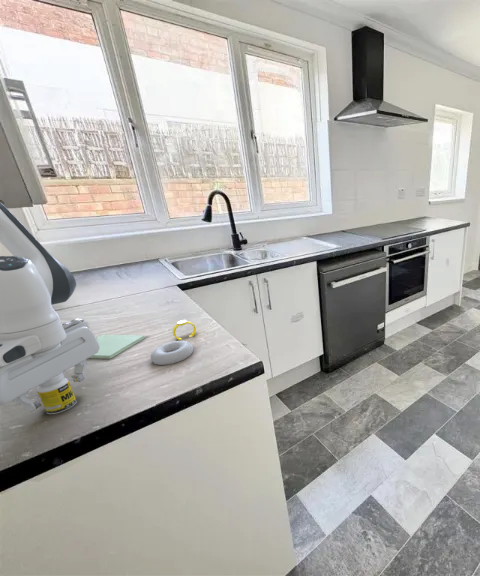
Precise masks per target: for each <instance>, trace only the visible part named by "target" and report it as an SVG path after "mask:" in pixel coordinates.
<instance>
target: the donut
mask: <svg viewBox="0 0 480 576" xmlns="http://www.w3.org/2000/svg"><path fill="white" fill-rule="evenodd" d="M193 351H194V346H193V344H192V343H191V342H190V341H187V340H173V341H169V342H166V343H163V344H161V345H159V346H157V347H156V348H155V349H153V350H152V352H151V354H150V360H151V362H152V363H153V364H154V365H158V366H167V365H174V364H176V363H180V362H182V361H184V360H185V359H187V358H189V357H190V356H191V355H192V353H193Z"/></svg>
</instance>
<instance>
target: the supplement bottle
mask: <svg viewBox="0 0 480 576" xmlns="http://www.w3.org/2000/svg"><path fill="white" fill-rule="evenodd" d="M70 383H71V382H70V380H69V379H68V377H67V378H66V377H65V374H64V372H62V373H60V374H59V375H57V376H55V377H53V378H52V379H50V380H48V381H46V382H44V383H43V384H41V385H39V386H37V387H36V393H37V394H38V396H39V398H40V399H39V400H40V402H41V404H42V405H43V408H44V410H45V412H46V414H48V415H55V414H59V413H62V412H65V411H67V410H69V409H71V408H73V407H74V406H75V405H76V404H77V402H78V401H77V398H76V396H75V393H74V391H73V388H72V385H71V384H70Z"/></svg>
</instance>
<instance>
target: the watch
mask: <svg viewBox="0 0 480 576" xmlns="http://www.w3.org/2000/svg"><path fill="white" fill-rule="evenodd" d="M187 324H189V325H191V326H192V327H193V329H192V330H193V331H192V333H191V334H190V335H189V338H191V337H194V336H195V335H196V332H197V327H196V326H195V324H194V323H192V321H187V319H181V320H178V321H177V322H176V324H175V325H174V327H173V329H172V335H173V336H174V338H176V339H177V341H183V339H182V338H181V337H178V336H177V335H176V331H177V329H178V327H181V326H185V325H187Z"/></svg>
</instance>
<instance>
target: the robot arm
mask: <svg viewBox="0 0 480 576" xmlns="http://www.w3.org/2000/svg"><path fill="white" fill-rule="evenodd" d="M0 243H1V245H3V246H4V248H6V250H7V251H8V252H9V253H10V254H11V255H0V407H1V406H2V407H3V406H5V405H7V404H9V403H11V402H15V403H17V404H20V405H22V406H23V408H24V410H25V411H27V412H34V411H35V410H37V409H39V408H40V407H42V403H41V400H40V399H38V398H35V399H34V398H30V399H29V397H30V394H29V392H31V391H32V390H34V389H36V388H38V387H39V385H41V384H43V383H44V382H46V381H48V380H50V379H52V378H53V377H55V376H57V375H59V374H60V373H62V372H63V373H64V372H66V371H68V370H69V369H72V368H74V373H72V374H71V375H70V376H71V378H72V381H73V383H80V382H82V381H84V380H85V379H87V375H86V369H87V366H88V362H87V359H90V358H89V357H91V356H93V355H94V354H96V353H98V351H99V348H100V346H99V343H98V341H97V339H96V338H97V337H96V335H95V334H94V333H93V331H92V330H91V328H90V324H89V323H88V321H87V320H85V319H84V318H83V319H82V318H74V319H72V320H71V321H68V322H64V323H62V321H61V318H60V316H59V313H57V311H56V310H55V309H54V307H53V305H58V304H62V303H63V304H64V303H66V302H67V301H68V300H69V299H70V298H71V297H72V295H73V294H74V292H75V290H76V287H77V280H76V277H75V276H74V275H73V273H72V272H71V270H70V269H68V268H67V267H66V266H65V265H64V264H63V263H61V262H60V261H59V260H58V259H57V258H55V257H54V256H53V255H52V254H51V253H50V252H49V251H48V250H47V249H46V248H45V247H44V246H43V245H42V243H40V242H39V240H38V239H37V238H36V237H35V236H34V235H33V234H32V232H30V231H29V230H28V229H27V228H26V226H25V225H24V224H23V223H22V222H21V221H20V220H19V219H18V218H17V217H16V216H15V215H14V214H13V213H12V212H11V211H10V210H9V209H8V208H7V207H6V205H4V204H3V203H2V202H1V201H0Z"/></svg>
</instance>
